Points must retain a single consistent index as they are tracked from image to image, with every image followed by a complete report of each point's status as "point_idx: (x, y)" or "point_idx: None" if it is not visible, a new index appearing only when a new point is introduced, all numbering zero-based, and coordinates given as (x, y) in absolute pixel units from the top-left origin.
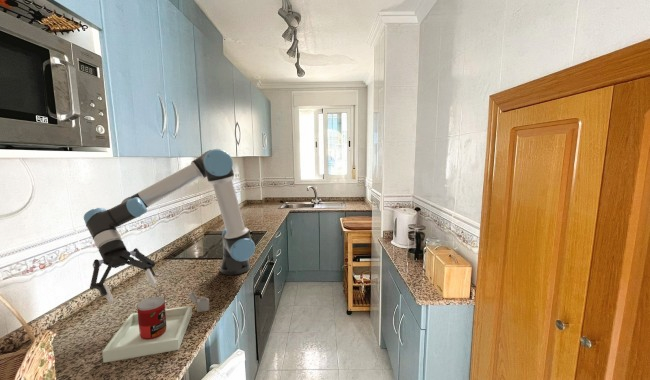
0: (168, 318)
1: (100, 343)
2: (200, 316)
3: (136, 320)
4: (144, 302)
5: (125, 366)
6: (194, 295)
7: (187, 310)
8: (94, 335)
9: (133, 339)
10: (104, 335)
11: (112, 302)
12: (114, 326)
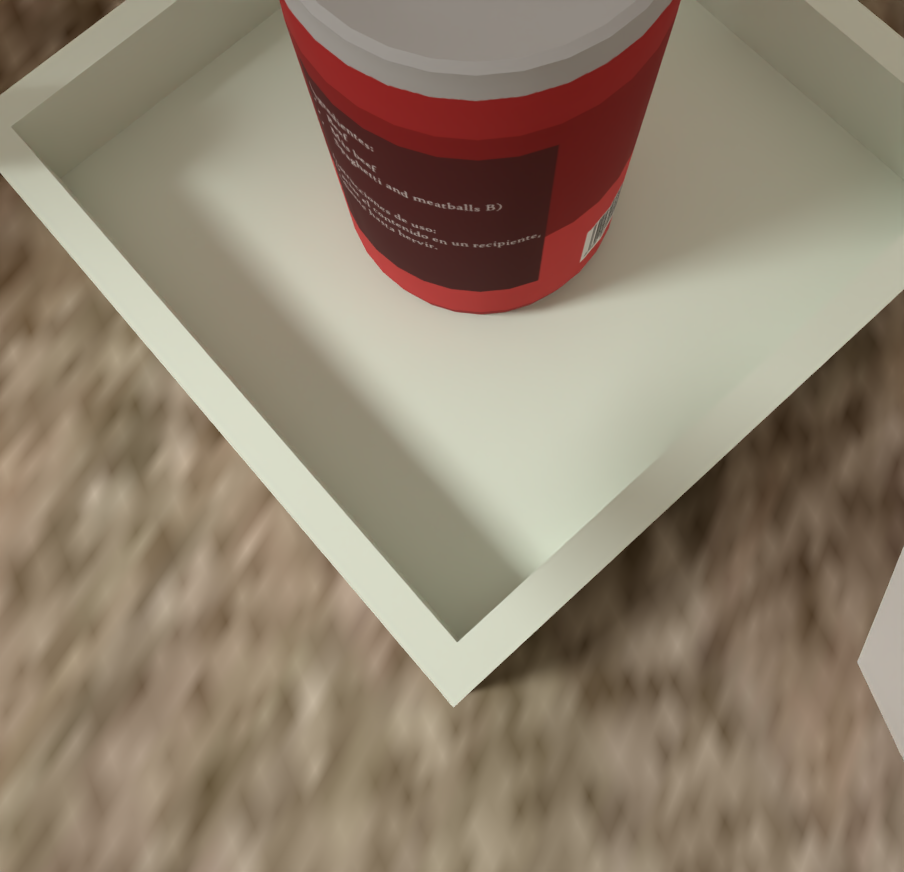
0: (220, 307)
1: (867, 589)
2: None
3: (437, 614)
4: (520, 12)
5: (869, 6)
6: None
7: (69, 71)
8: (845, 854)
9: (658, 272)
10: (775, 726)
11: (894, 606)
12: (615, 831)
